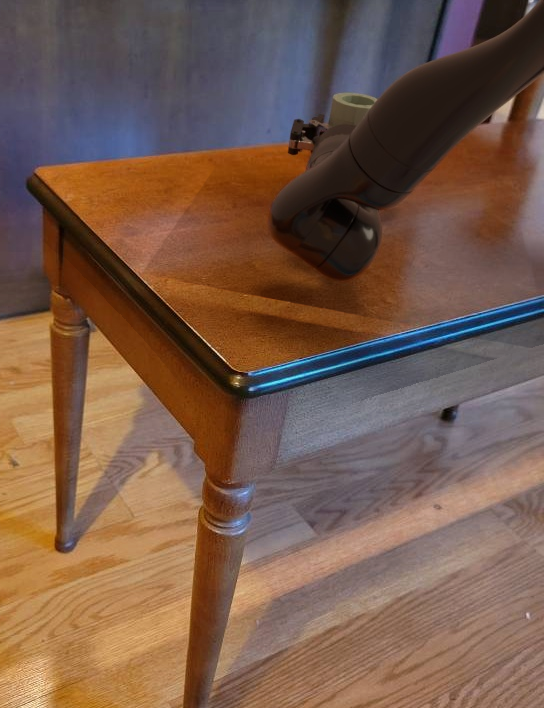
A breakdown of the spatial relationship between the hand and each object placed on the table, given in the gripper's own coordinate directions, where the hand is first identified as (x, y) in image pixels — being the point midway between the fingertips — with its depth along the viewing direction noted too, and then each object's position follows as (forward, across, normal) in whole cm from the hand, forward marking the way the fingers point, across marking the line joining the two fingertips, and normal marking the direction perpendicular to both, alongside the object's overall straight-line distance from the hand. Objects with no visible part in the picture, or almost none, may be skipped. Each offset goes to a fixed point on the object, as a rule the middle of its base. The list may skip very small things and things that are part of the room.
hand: (353, 127), depth 94 cm
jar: (-1, 0, +7) cm, 7 cm away
